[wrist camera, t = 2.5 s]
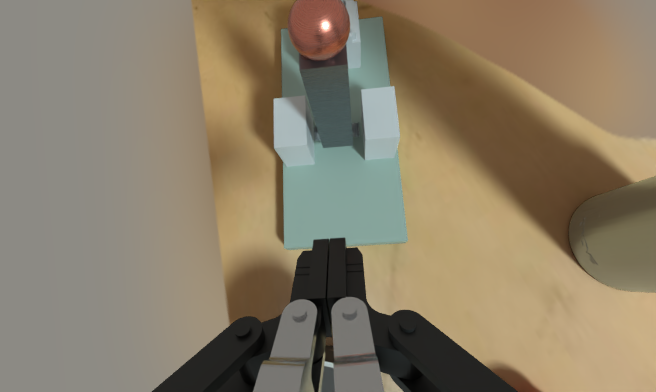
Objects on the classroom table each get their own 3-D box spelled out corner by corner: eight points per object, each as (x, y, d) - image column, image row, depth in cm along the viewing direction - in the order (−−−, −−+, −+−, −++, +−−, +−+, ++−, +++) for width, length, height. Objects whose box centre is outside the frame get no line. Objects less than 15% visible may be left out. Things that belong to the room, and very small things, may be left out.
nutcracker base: (381, 29, 38) (385, -24, 32) (405, 242, 32) (416, 234, 25) (285, 41, 39) (269, -8, 33) (288, 249, 33) (269, 243, 26)
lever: (357, 116, 32) (354, -33, 17) (360, 149, 31) (359, 23, 16) (315, 120, 32) (273, -21, 17) (316, 153, 32) (273, 34, 16)
